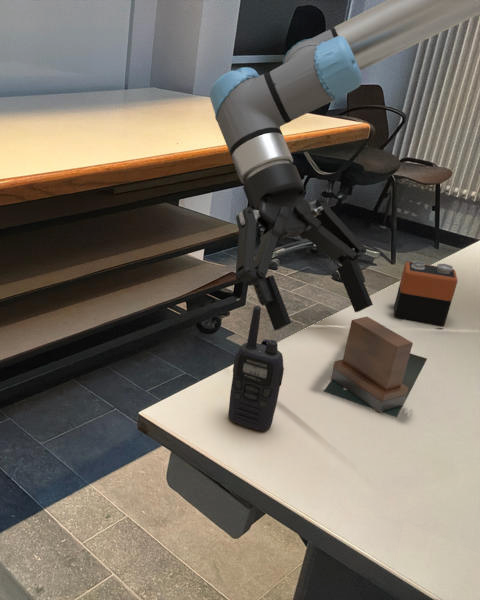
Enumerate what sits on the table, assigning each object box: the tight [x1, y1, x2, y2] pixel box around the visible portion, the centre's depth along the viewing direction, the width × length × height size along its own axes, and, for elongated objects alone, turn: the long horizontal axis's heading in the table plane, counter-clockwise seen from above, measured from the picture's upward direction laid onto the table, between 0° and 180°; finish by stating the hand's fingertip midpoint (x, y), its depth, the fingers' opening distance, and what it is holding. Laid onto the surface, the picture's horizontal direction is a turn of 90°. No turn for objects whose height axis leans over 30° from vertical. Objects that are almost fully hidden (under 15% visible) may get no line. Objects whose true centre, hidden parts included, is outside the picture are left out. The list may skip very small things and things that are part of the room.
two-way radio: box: [227, 305, 285, 432], centre depth 76 cm, size 6×4×15 cm
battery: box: [393, 260, 459, 330], centre depth 99 cm, size 4×7×10 cm, turn 68°
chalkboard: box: [323, 353, 428, 418], centre depth 87 cm, size 18×10×1 cm, turn 144°
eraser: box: [330, 316, 414, 413], centre depth 81 cm, size 8×4×8 cm, turn 24°
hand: (324, 317), depth 88 cm, fingers open, 13 cm apart
